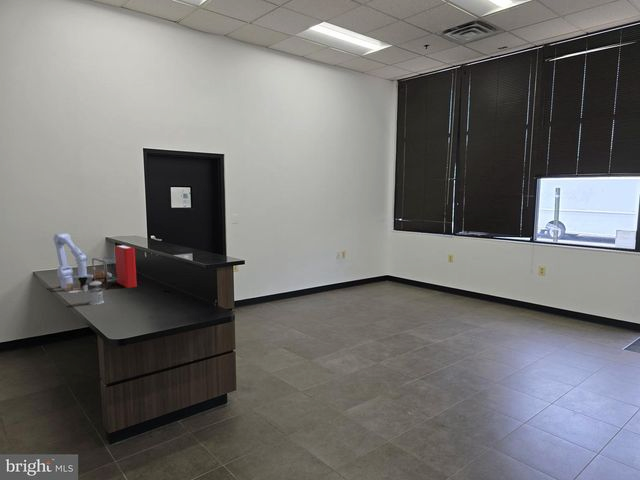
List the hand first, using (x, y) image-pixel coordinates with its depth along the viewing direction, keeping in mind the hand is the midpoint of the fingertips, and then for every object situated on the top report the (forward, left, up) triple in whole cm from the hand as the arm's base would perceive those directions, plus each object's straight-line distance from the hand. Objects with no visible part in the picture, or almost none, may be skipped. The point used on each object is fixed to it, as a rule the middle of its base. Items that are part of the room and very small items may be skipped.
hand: (83, 286), depth 329 cm
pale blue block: (+8, -1, -3) cm, 9 cm away
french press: (+39, +24, -3) cm, 46 cm away
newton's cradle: (-44, +1, -3) cm, 44 cm away
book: (-17, +27, -3) cm, 32 cm away
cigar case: (-24, +3, -3) cm, 24 cm away
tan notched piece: (0, -8, -3) cm, 8 cm away
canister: (0, -10, -2) cm, 10 cm away
